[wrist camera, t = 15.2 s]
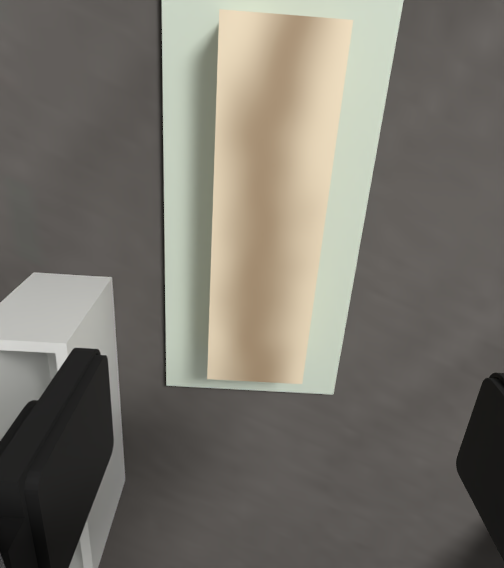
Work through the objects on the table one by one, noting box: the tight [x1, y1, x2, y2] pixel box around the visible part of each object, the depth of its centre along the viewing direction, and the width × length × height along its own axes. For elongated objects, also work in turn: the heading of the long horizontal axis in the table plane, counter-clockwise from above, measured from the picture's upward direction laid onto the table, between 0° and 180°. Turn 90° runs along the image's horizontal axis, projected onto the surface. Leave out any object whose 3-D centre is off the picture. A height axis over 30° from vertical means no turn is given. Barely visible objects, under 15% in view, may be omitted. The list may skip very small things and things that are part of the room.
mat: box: [162, 0, 403, 394], centre depth 27 cm, size 12×26×1 cm, turn 176°
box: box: [0, 273, 125, 568], centre depth 29 cm, size 5×18×8 cm, turn 176°
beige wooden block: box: [207, 9, 353, 384], centre depth 26 cm, size 6×20×3 cm, turn 176°
